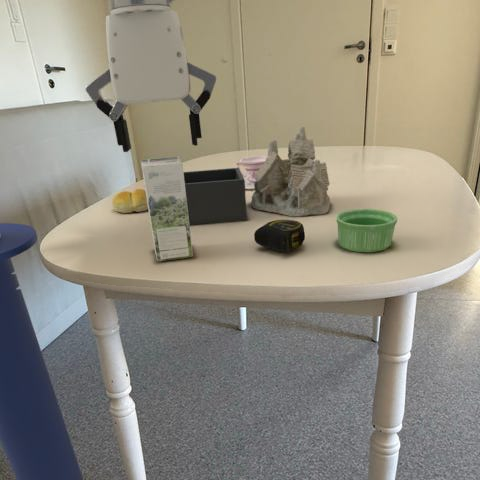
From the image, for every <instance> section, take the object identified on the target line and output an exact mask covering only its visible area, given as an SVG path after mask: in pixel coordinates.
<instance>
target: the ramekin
mask: <svg viewBox="0 0 480 480" xmlns="http://www.w3.org/2000/svg"><path fill="white" fill-rule="evenodd" d="M335 220H336V224H337V241H338V245H339V246H340V247H341V248H343V249H344V250H348V251H351V252H357V253H376V252H382V251H384V250H386V249H388V248H389V247H390V246H391V245H392V241H393V238H394V237H393V236H394V231H395V228H396V227H395V226H396V224H397V222H398V216H397V215H396V214H394V213H392V212H391V211H387V210H382V209H376V208H375V209H373V208H358V209H350V210H346V211H342V212H339V213H338V214H337V215H336V217H335Z"/></svg>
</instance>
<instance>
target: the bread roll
mask: <svg viewBox="0 0 480 480" xmlns="http://www.w3.org/2000/svg"><path fill="white" fill-rule="evenodd" d="M111 205H112V209H113V210H114V211H116V212H118V213H122V214H130V213H132V214H133V213H134V212H136V213H141V212H146V211H149V210H148V204H147V197H146V191H145V189H143V188H136V189H135V190H134V191H132V192H130V191H121V192H118V193H117V194H116V195H114V196H113V198H112V201H111Z"/></svg>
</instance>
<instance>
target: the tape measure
mask: <svg viewBox="0 0 480 480" xmlns="http://www.w3.org/2000/svg"><path fill="white" fill-rule="evenodd" d="M253 237H254V242H255V243H256V244H257V245H258V246H262V247H264V248H268V249H270V250H271V249H272V250H273V251H275V252H276V251H278V252H282V253H288V252H290V251H291V250H294V249H298V248H300V247H301V246H302V245H303V243H304V242H305V239H306V234H305V228H304V224H303V223H302V222H300V221H297V220H293V219H276V220H271V221H268V222H266V223H265V224H264V225H262V226H260V227H259V228H257V229H256V230H255V231H254V233H253Z"/></svg>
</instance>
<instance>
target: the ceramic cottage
mask: <svg viewBox="0 0 480 480" xmlns="http://www.w3.org/2000/svg"><path fill="white" fill-rule="evenodd" d="M305 128H306V127H304V126H300V127H299V128H298V130H299V131H298V132H296V133H295V136H294V139H290V140H289V142H288V148H287V151H288V152H287V158H286V159H282V158H281V157H280V155H279V149H278V141H277V140H276V139H269V141H268V145H267V156H268V157H267V158H266V159H265V160H266V161H265V162H264V164H263V165H262V166H261V167H260V170H259V171H258V172H257V173H256V175H254V176H253V177H254V178H255V180H256V182H255V184H254V186H255V188H254V189H253V190H254V192H253V193H252V196H251V202H250V206H251V208H254V209H255V210H258V211H259V210H260V211H264V212H267V213H268V212H269V213H276V214H279V215H280V214H281V215H284V216H289V217H305V216H310V215H315V216H316V215H324V214H328V212H329V211H330V207H331V204H330V200H331V199H330V196H329V194H328V190H329V186H330V179H329V174H328V168H327V163H326V161H325V162H321V160H320V159H316V155H315V154H316V149H315V145H314V140H313V138H312V139H307V134H306V129H305Z"/></svg>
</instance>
